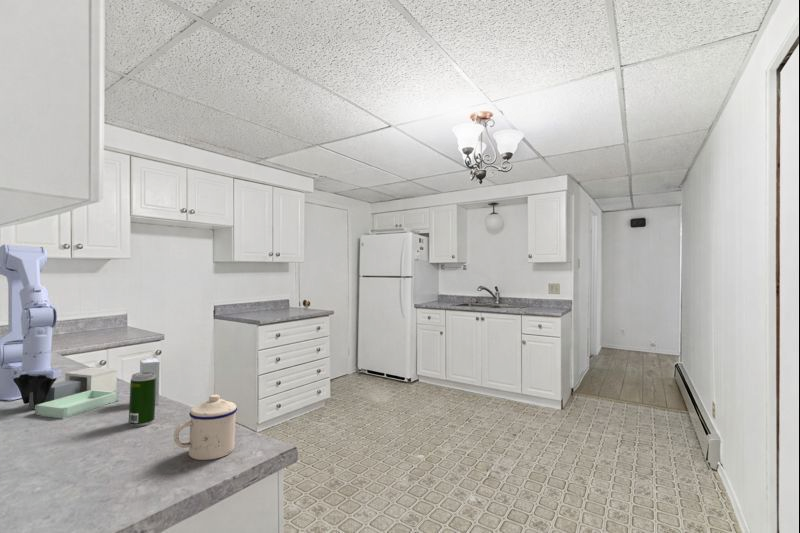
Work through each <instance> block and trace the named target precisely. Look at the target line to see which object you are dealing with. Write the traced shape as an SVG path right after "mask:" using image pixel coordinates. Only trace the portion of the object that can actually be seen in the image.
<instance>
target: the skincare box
mask: <svg viewBox="0 0 800 533" xmlns="http://www.w3.org/2000/svg"><path fill="white" fill-rule="evenodd" d="M160 364H161V363H160V361H159V360H158V359H157V358H147V359H140V360H139V365H140V366H139V373H141V372H155V373H156V374H155V375H156V397H155V406H156V405H157V406H158V405H159V404H160Z"/></svg>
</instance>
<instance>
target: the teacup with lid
mask: <svg viewBox="0 0 800 533" xmlns="http://www.w3.org/2000/svg"><path fill="white" fill-rule="evenodd" d="M237 411H238V407H237V405H236V403H234V402H232V401H227V400H226V399H222V398H221V397H220V395H219V394H211V395H209V397H208V399H207V400H205V401H204V402H201V403H199V404H195V405H194V406H193V407H192V408H191V409H190V411H189V417H190V418H189V421H184V422H182V423H181V424H179V425H177V427H175V430H174V432H173V440H174V442H175V444H176V445H177V446H178V447H180V448H182V449H183V448H186V449H187V448H188V455H189V457H191V459H194V460H198V461H209V460H210V461H211V460H217V459H220V458H223V457H225V456H228V455H229V454H231V453H233V451H234V450H235V438H236V437H235V436H236V416H237ZM186 427H189V441H188V442H182V441H180V438H179V435H180V432H181V431H182V430H183V429H184V428H186Z"/></svg>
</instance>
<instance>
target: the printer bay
mask: <svg viewBox="0 0 800 533" xmlns="http://www.w3.org/2000/svg"><path fill="white" fill-rule="evenodd" d="M64 376H65V378H64V381H67V380H72V381H81V382H80V393H81V392H85V391H89V390H92V389H94V390H103V391H112V392H115V391H114V390H116V391H117V380H118V369H116V368H104V367H97V366H96V367H95V366H94V367H86V368H82V369H78V370H74V371H67V372H65V375H64Z"/></svg>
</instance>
